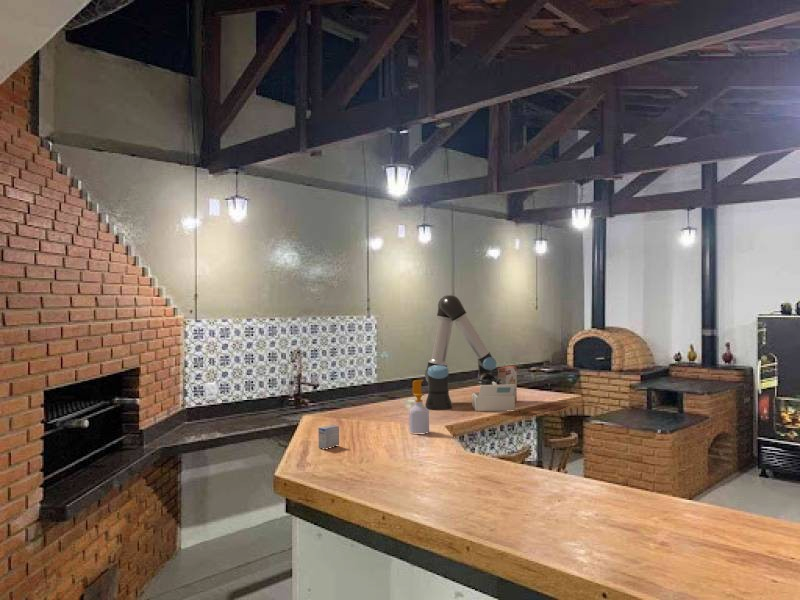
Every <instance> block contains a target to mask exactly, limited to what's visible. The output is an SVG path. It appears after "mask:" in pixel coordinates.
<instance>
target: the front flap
mask: <svg viewBox="0 0 800 600" xmlns="http://www.w3.org/2000/svg"><path fill="white" fill-rule="evenodd" d="M514 388H515V384H509V385H481V384H480V386H479V397H481V396H513V393H514Z"/></svg>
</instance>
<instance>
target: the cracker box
mask: <svg viewBox="0 0 800 600" xmlns="http://www.w3.org/2000/svg"><path fill="white" fill-rule="evenodd" d="M517 370H518V369H517V366H513V365H512V366H511V365H510V366H509V365H508V366H502V367H498V368H497V381H498V380H499V379H501V384H500V385H509V384H515V388H514V393H513V395H514V396H515V402H518V401H517V399H518V396H517V394H518V392H517V388H518V385H517V382H518V380H517V377H518V375H517V372H518V371H517Z"/></svg>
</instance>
